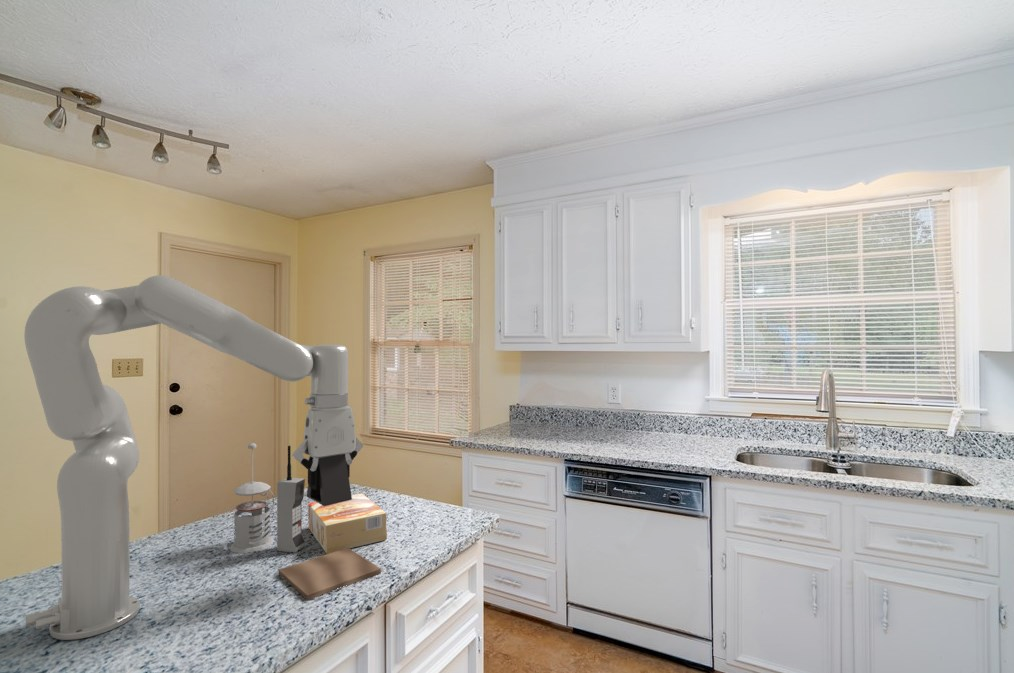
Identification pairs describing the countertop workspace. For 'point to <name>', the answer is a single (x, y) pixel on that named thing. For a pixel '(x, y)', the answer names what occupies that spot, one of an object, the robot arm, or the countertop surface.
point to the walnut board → (328, 573)
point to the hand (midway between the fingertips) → (329, 484)
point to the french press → (252, 518)
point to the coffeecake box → (347, 523)
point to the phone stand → (331, 481)
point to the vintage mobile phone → (290, 512)
